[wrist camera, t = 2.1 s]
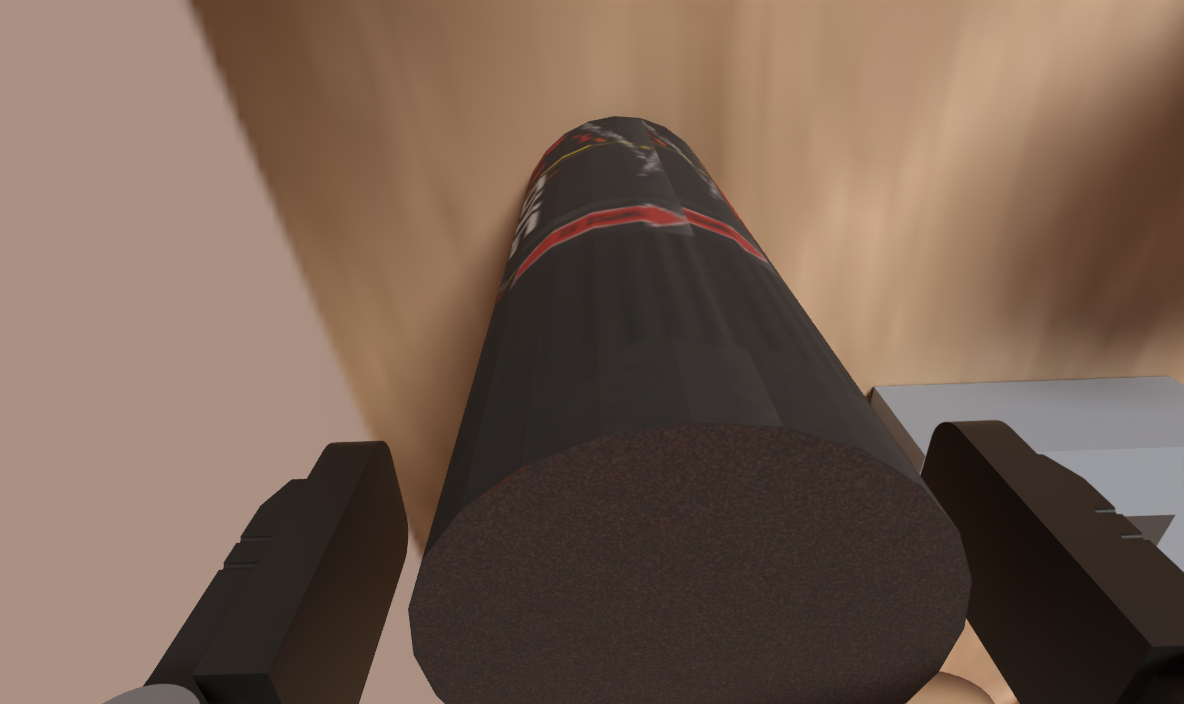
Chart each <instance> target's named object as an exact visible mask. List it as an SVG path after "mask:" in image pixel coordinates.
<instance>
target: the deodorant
mask: <svg viewBox="0 0 1184 704" xmlns="http://www.w3.org/2000/svg"><path fill="white" fill-rule="evenodd" d="M971 586H972V578H971V574H970V570H969V566H968V563H967V559H966V555H965V551H964V547H963V543H962V540H961V536H960V532H959V531H958V529H957V528H956V526H955V525H954V523H953V522H952V521H951V519H950V518H949V516H948V515H947V513H946V512H945V511H944V509H943V508H942V506H941V505H940V503H939V502H938V501H937V499H936V498H935V496H934V495H933V493H932V492H931V491H930V489H929V488H928V486H927V485H926V483H925V482H924V481H923V479H922V478H921V476H920V475H919V473H918V472H917V471H916V469H915V468H914V466H913V465H912V463H911V462H910V461H909V459H908V458H907V456H906V455H905V453H904V452H903V451H902V449H901V448H900V446H899V445H898V443H897V442H896V441H895V439H894V438H893V436H892V435H891V433H890V432H889V431H888V429H887V428H886V426H885V425H884V423H883V422H882V421H881V419H880V418H879V416H878V415H877V413H876V412H875V411H874V409H873V408H872V406H871V405H870V403H869V402H868V401H867V399H866V398H865V396H864V395H863V393H862V392H861V391H860V389H859V388H858V386H857V385H856V383H855V382H854V381H853V379H852V378H851V376H850V375H849V373H848V372H847V371H846V369H845V368H844V366H843V365H842V363H841V362H840V361H839V359H838V358H837V356H836V355H835V353H834V352H833V350H832V349H831V348H830V346H829V345H828V343H827V342H826V340H825V339H824V338H823V336H822V335H821V333H820V332H819V330H818V329H817V328H816V326H815V325H814V323H813V322H812V320H811V319H810V318H809V316H808V315H807V313H806V312H805V310H804V309H803V308H802V306H801V305H800V303H799V302H798V300H797V299H796V298H795V296H794V295H793V293H792V292H791V290H790V289H789V288H788V286H787V285H786V283H785V282H784V280H783V279H782V278H781V276H780V275H779V273H778V272H777V270H776V269H775V268H774V266H773V265H772V263H771V262H770V260H769V259H768V258H767V256H766V255H765V253H764V252H763V250H762V249H761V248H760V246H759V245H758V243H757V242H756V240H755V239H754V238H753V236H752V235H751V233H750V232H749V230H748V229H747V228H746V226H745V225H744V223H743V222H742V220H741V219H740V218H739V216H738V215H737V213H736V212H735V210H734V209H733V208H732V206H731V205H730V203H729V202H728V200H727V199H726V198H725V196H724V195H723V193H722V192H721V190H720V189H719V188H718V186H717V185H716V183H715V182H714V180H713V179H712V178H711V176H710V175H709V173H708V172H707V170H706V169H705V168H704V166H703V165H702V163H701V162H700V161H699V159H698V158H697V157H696V155H695V154H694V153H693V151H692V150H691V149H690V148H689V146H688V145H687V144H686V142H684V141H683V140H682V139H680V138H679V137H678V136H676V135H675V134H674V133H672V132H671V131H669V130H668V129H667V128H665V127H663V126H660V125H658V124H655V123H652V122H650V121H647V120H644V119H642V118H631V117H618V116H613V117H609V118H604V119H599V120H594V121H589V122H587V123H585V124H583V125H581V126H579V127H577V128H575V129H573V130H571V131H569V132H567V133H565V134H564V135H563V136H562V137H561V138H560V139H559V140H558V141H557V142H556V143H554V144H553V145H552V146H551V147H550V148H549V149H548V150H547V151H546V152H545V154H544V156H543V157H542V159H541V160H540V162H539V164H538V165H537V167H536V168H535V170H534V172H533V174H532V178H531V181H530V185H529V188H528V191H527V195H526V198H525V202H524V205H523V209H522V212H521V216H520V219H519V223H518V226H517V230H516V233H515V237H514V240H513V244H512V247H511V251H510V254H509V258H508V261H507V265H506V268H505V272H504V275H503V279H502V282H501V286H500V289H499V293H498V296H497V300H496V303H495V307H494V310H493V314H492V317H491V321H490V324H489V328H488V331H487V335H486V338H485V342H484V345H483V349H482V352H481V356H480V359H479V363H478V366H477V370H476V373H475V377H474V380H473V384H472V387H471V391H470V394H469V398H468V401H467V405H466V408H465V412H464V415H463V419H462V422H461V426H460V429H459V433H458V436H457V440H456V443H455V447H454V450H453V454H452V457H451V461H450V464H449V468H448V471H447V475H446V478H445V482H444V485H443V489H442V492H441V496H440V499H439V503H438V506H437V510H436V513H435V517H434V520H433V524H432V527H431V531H430V534H429V538H428V541H427V545H426V548H425V552H424V555H423V559H422V562H421V566H420V569H419V573H418V576H417V580H416V583H415V587H414V590H413V594H412V597H411V601H410V604H409V608H408V612H409V619H410V628H411V636H412V645H413V653H414V656H415V658H416V660H417V662H418V663H419V665H420V667H421V669H422V671H423V673H424V674H425V676H426V678H427V680H428V682H429V683H430V685H431V687H432V689H433V691H434V692H435V694H436V696H437V697H438V698H439V699H441V700H442V701H443V702H444V703H445V704H906V703H907V702H908V701H909V700H910V699H911V698H912V697H913V696H914V695H915V694H916V693H917V692H919V691H920V690H921V689H922V688H923V687H924V686H925V685H926V684H927V683H928V682H929V681H930V680H931V679H932V678H933V677H934V676H935V675H936V674H937V673H938V672H939V670H940V669H941V667H942V665H943V664H944V662H945V660H946V658H947V657H948V655H949V653H950V652H951V650H952V648H953V647H954V645H955V643H956V641H957V640H958V638H959V636H960V635H961V633H962V631H963V630H964V626H965V620H966V614H967V609H968V603H969V597H970V591H971Z"/></svg>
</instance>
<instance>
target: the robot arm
mask: <svg viewBox="0 0 1184 704" xmlns="http://www.w3.org/2000/svg"><path fill="white" fill-rule="evenodd" d="M920 476H921V478H922V479H923V481H924V482H925V483H926V485H927V486H928V488H929V489H930V491H931V492H932V493H933V495H934V496H935V498H936V499H937V501H938V502H939V503H940V505H941V506H942V508H943V509H944V511H945V512H946V513H947V515H948V516H949V518H950V519H951V521H952V522H953V523H954V525H955V526H956V528H957V529H958V531H959V532H960V536H961V540H962V543H963V547H964V551H965V555H966V559H967V563H968V566H969V570H970V574H971V578H972V586H971V591H970V597H969V603H968V609H967V614H966V618H967V620H968V622H969V623H970V625H971V626H972V628H973V630H974V631H975V633H976V634H977V636H978V638H979V639H980V641H981V642H982V644H983V646H984V647H985V649H986V650H987V652H988V654H989V655H990V657H991V658H992V660H993V662H994V663H995V665H996V666H997V668H998V670H999V671H1000V673H1001V674H1002V676H1003V678H1004V679H1005V681H1006V682H1007V684H1008V686H1009V687H1010V689H1011V690H1012V692H1013V694H1014V695H1015V697H1016V698H1017V700H1018V702H1019V703H1020V704H1184V572H1183V571H1182V570H1181V569H1180V568H1179V567H1178V566H1177V565H1176V564H1175V563H1174V562H1173V561H1171V560H1170V559H1169V558H1168V557H1167V556H1166V555H1165V554H1164V553H1163V552H1162V551H1161V550H1160V549H1159V548H1158V547H1157V546H1156V545H1154V544H1153V543H1152V542H1151V541H1150V540H1144V539H1143V537H1142V532H1141V531H1140V530H1139V529H1137V528H1136V527H1135V526H1134V525H1133V524H1132V523H1131V522H1130V521H1129V520H1128V519H1127V518H1126V517H1125V516H1124V515H1123V514H1117V513H1116V511H1115V507H1114V506H1113V505H1112V504H1111V503H1110V502H1109V501H1108V500H1107V499H1106V498H1105V497H1104V496H1102V495H1101V494H1100V493H1099V492H1098V491H1097V490H1096V489H1095V488H1094V487H1093V486H1092V485H1091V484H1090V483H1089V482H1088V481H1087V480H1085V479H1084V478H1083V477H1081V476H1079V475H1078V474H1076V473H1074V472H1073V471H1071V470H1069V469H1068V468H1066V467H1064V466H1062V465H1061V464H1059V463H1057V462H1056V461H1054V460H1052V459H1051V458H1049V457H1047V456H1045V455H1044V454H1037V453H1036V452H1035V451H1034V450H1033V449H1032V448H1031V447H1030V446H1029V445H1028V444H1027V443H1026V442H1025V441H1024V440H1023V439H1022V438H1021V437H1020V436H1019V435H1018V434H1017V433H1016V432H1015V431H1014V430H1013V429H1012V428H1011V427H1010V426H1008V425H1007V424H1006V423H1004V422H1002V421H999V420H980V421H953V422H942V423H940V424H939V425H938V426H937V427H936V428H935V430H934V431H933V434H932V437H931V440H930V444H929V447H928V450H927V454H926V457H925V461H924V464H923V468H922V471H921V474H920ZM407 546H408V522H407V516H406V512H405V508H404V504H403V500H402V496H401V492H400V488H399V484H398V480H397V476H396V472H395V468H394V464H393V460H392V456H391V452H390V449H389V447H388V445H387V444H386V443H385V442H384V441H365V442H336V443H330V444H328V445H327V446H326V448H325V449H324V451H323V452H322V454H321V456H320V457H319V459H318V461H317V462H316V464H315V466H314V468H313V469H312V471H311V473H310V474H309V476H308V478H307V479H292V480H291V481H289V482H288V483H287V484H286V485H285V486H284V487H282V488H281V489H280V490H279V491H278V492H276V493H275V494H274V495H273V496H272V497H270V498H269V499H268V500H267V501H266V502H264V503H263V504H262V505H261V506H260V507H259V509H258V510H257V512H256V514H255V515H254V517H253V518H252V520H251V521H250V523H249V524H248V526H247V527H246V529H245V531H244V532H243V534H242V535H241V541H240V543H236V545H235V546H234V548H233V549H232V551H231V552H230V554H229V555H228V557H227V558H226V560H225V561H224V568H223V570H219V571H218V572H217V574H216V575H215V577H214V579H213V580H212V582H211V583H210V585H209V586H208V588H207V589H206V591H205V592H204V594H203V595H202V597H201V599H200V600H199V602H198V603H197V605H196V606H195V608H194V609H193V611H192V613H191V614H190V616H189V617H188V619H187V620H186V622H185V623H184V625H183V626H182V628H181V629H180V631H179V633H178V634H177V636H176V637H175V639H174V640H173V642H172V643H171V645H170V646H169V648H168V650H167V651H166V653H165V654H164V656H163V657H162V659H161V660H160V662H159V664H158V665H157V667H156V668H155V670H154V671H153V673H152V674H151V676H150V677H149V679H148V680H147V681H146V683H145V684H144V686H143V687H140V688H137V689H134V690H131V691H128V692H126V693H123V694H121V695H119V696H117V697H114V698H112V699H110V700H109V701H107V702H105V703H103V704H359V701H360V698H361V695H362V692H363V689H364V686H365V683H366V680H367V676H368V673H369V670H370V667H371V664H372V661H373V658H374V655H375V652H376V649H377V646H378V642H379V639H380V636H381V633H382V630H383V627H384V624H385V621H386V618H387V614H388V611H389V608H390V605H391V602H392V599H393V596H394V593H395V590H396V587H397V583H398V580H399V577H400V574H401V571H402V568H403V564H404V562H405V558H406V553H407Z"/></svg>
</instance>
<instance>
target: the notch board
mask: <svg viewBox="0 0 1184 704" xmlns="http://www.w3.org/2000/svg"><path fill="white" fill-rule="evenodd" d="M870 405H871V406H872V408H873V409H874V411H875V412H876V413H877V415H878V416H879V418H880V419H881V421H882V422H883V423H884V425H885V426H886V428H887V429H888V431H889V432H890V433H891V435H892V436H893V438H894V439H895V441H896V442H897V443H898V445H899V446H900V448H901V449H902V451H903V452H904V453H905V455H906V456H907V458H908V459H909V461H910V462H911V463H912V465H913V466H914V468H915V469H916V471H917V472H918V473H919V475H920V474H921V471H922V468H923V464H924V461H925V457H926V454H927V450H928V447H929V444H930V440H931V437H932V434H933V431H934V430H935V428H936V427H937V426H938V425H939V424H940V423H942V422H953V421H980V420H999V421H1002V422H1004V423H1006V424H1007V425H1008V426H1010V427H1011V428H1012V429H1013V430H1014V431H1015V432H1016V433H1017V434H1018V435H1019V436H1020V437H1021V438H1022V439H1023V440H1024V441H1025V442H1026V443H1027V444H1028V445H1029V446H1030V447H1031V448H1032V449H1033V450H1034V451H1035V452H1036V453H1037V454H1044V455H1045V456H1047V457H1049V458H1051V459H1052V460H1054V461H1056V462H1057V463H1059V464H1061V465H1062V466H1064V467H1066V468H1068V469H1069V470H1071V471H1073V472H1074V473H1076V474H1078V475H1079V476H1081V477H1083V478H1084V479H1085V480H1087V481H1088V482H1089V483H1090V484H1091V485H1092V486H1093V487H1094V488H1095V489H1096V490H1097V491H1098V492H1099V493H1100V494H1101V495H1102V496H1104V497H1105V498H1106V499H1107V500H1108V501H1109V502H1110V503H1111V504H1112V505H1113V506H1114V507H1115V511H1116V513H1117V514H1123V515H1124V516H1125V517H1126V518H1127V519H1128V520H1129V521H1130V522H1131V523H1132V524H1133V525H1134V526H1135V527H1136V528H1137V529H1139V530H1140V531H1141V532H1142V537H1143V539H1144V540H1150V541H1151V542H1152V543H1153V544H1154V545H1156V546H1157V547H1158V548H1159V549H1160V550H1161V551H1162V552H1163V553H1164V554H1165V555H1166V556H1167V557H1168V558H1169V559H1170V560H1171V561H1173V562H1174V563H1175V564H1176V565H1177V566H1178V567H1179V568H1180V569H1181V570H1182V571H1183V572H1184V385H1182V384H1181V383H1179V382H1178V381H1176V380H1175V379H1173V378H1172V377H1170V376H1157V377H1129V378H1102V379H1074V380H1047V381H1019V382H991V383H964V384H936V385H909V386H881V387H874V390H873V394H872V398H871V403H870Z"/></svg>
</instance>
